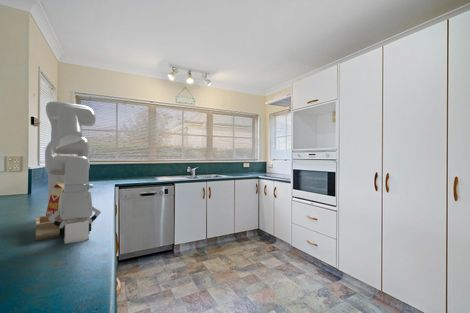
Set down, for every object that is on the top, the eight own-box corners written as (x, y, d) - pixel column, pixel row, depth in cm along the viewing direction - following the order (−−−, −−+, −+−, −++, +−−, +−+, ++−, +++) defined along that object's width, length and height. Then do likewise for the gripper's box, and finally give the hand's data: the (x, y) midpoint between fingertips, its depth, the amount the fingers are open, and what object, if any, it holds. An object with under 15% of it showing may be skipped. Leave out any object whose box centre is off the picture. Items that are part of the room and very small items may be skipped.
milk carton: (59, 227, 98) (60, 182, 98) (43, 225, 100) (43, 181, 100) (78, 221, 107) (78, 180, 107) (62, 220, 109) (63, 179, 109)
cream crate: (63, 237, 85) (63, 219, 85) (85, 233, 89) (85, 216, 90) (65, 244, 78) (65, 224, 78) (88, 239, 83) (88, 221, 83)
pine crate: (36, 231, 92) (36, 217, 92) (80, 224, 102) (80, 211, 102) (35, 241, 81) (35, 224, 81) (84, 232, 91) (84, 217, 91)
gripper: (100, 186, 93) (100, 228, 92) (46, 189, 81) (45, 238, 81) (104, 187, 87) (104, 233, 87) (46, 191, 76) (45, 244, 75)
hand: (75, 235), depth 84 cm, fingers closed on cream crate, 7 cm apart
